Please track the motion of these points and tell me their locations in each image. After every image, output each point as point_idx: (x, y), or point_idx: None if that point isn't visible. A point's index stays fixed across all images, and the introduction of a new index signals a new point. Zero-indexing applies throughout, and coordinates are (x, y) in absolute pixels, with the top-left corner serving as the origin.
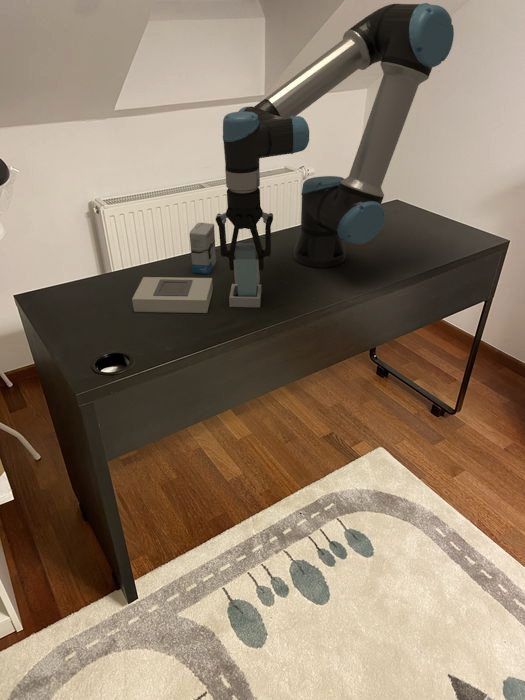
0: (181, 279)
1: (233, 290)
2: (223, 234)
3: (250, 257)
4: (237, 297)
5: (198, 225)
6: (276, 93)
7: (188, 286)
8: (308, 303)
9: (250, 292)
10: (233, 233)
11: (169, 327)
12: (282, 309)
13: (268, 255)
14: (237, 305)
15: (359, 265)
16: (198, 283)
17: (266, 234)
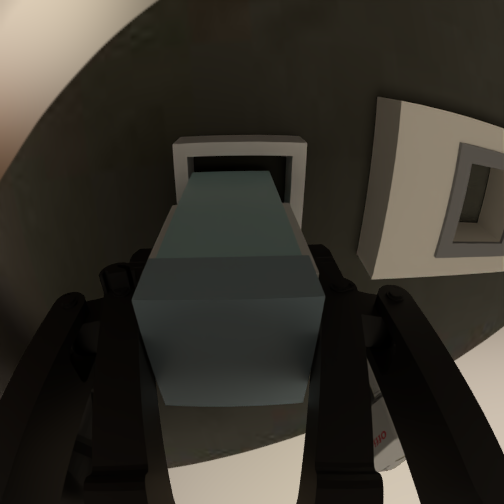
0: (459, 263)
1: (291, 207)
2: (455, 425)
3: (185, 264)
4: (271, 147)
5: (398, 462)
6: None
7: (453, 210)
8: (37, 185)
9: (215, 176)
10: (368, 461)
11: (468, 33)
12: (101, 132)
13: (70, 296)
14: (269, 135)
15: (13, 362)
16: (420, 238)
17: (15, 430)
